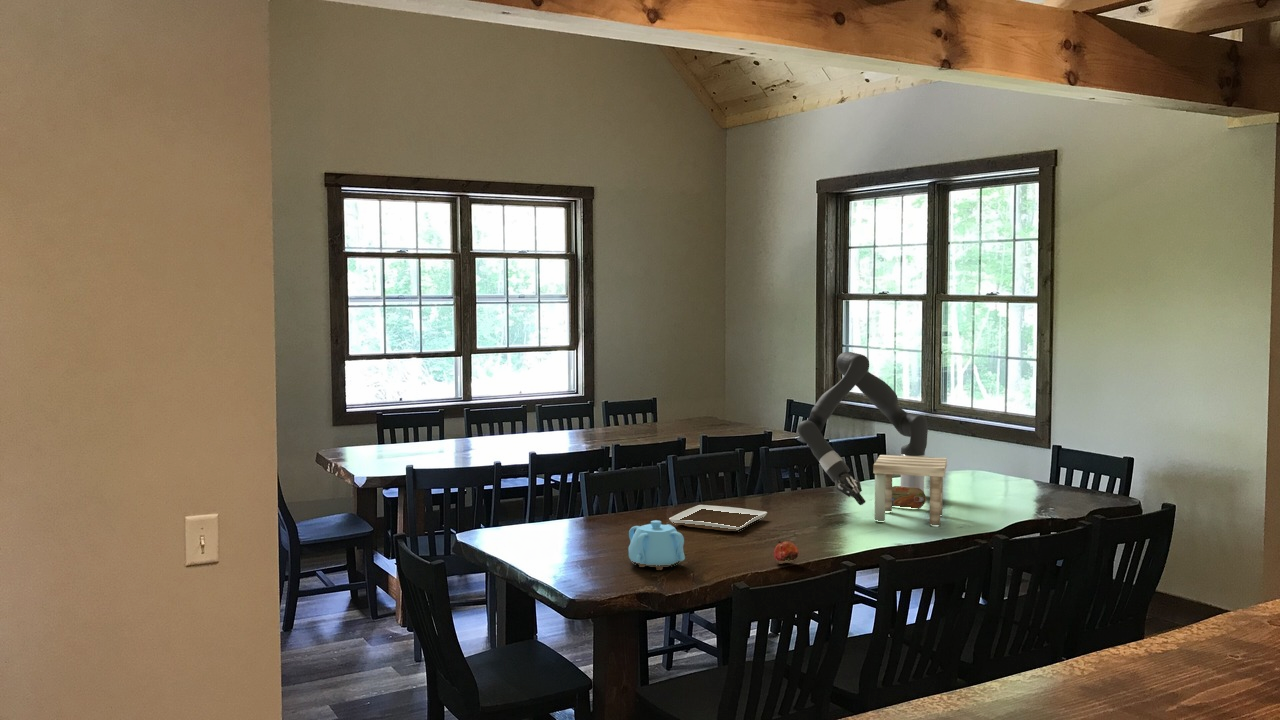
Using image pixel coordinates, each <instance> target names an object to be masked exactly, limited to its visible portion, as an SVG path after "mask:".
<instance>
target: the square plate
mask: <svg viewBox="0 0 1280 720" xmlns="http://www.w3.org/2000/svg"><path fill="white" fill-rule="evenodd" d="M701 509H706V510H713V511H721V512H729V513H739V514H740V513H741V514H750V515H758V516H756V517H754V518H752V519H751V520H749V521H748V522H746V523H745V524H744V525H742V526H740V527H736V526H730V525H724V524H718V523H711V522H704V521H693V520H680V519H682V518H684V517H687V516H689V515H691V514H693V513H695V512H697V511H699V510H701ZM767 514H768V512H767V511H764V510H757V509H756V510H755V509H749V508H742V507H733V506H732V507H731V506H722V505H721V506H720V505H707V504H698V505H696V506H693V507H690V508H688V509H686V510H683V511H681V512H679V513H677V514H675V515H673V516H671V517H669V518H668V520H669V521H670V522H671V523H673V522H674V523H685V524H695V525H705V526H712V527H720V528H728V529H736V530H739V529H741V528H743V527H745V526H746V525H748V524H750V523H752V522H754V521H756V520H758V519H760V518H762V517H763V518H765V516H766V515H767ZM763 518H762V519H763ZM760 520H761V519H760ZM674 523H673V524H674Z"/></svg>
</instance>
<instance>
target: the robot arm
mask: <svg viewBox="0 0 1280 720" xmlns="http://www.w3.org/2000/svg"><path fill="white" fill-rule="evenodd" d="M836 368H837V370H838V372H839V373H840V374H841V375H842V376H843V377H842V378H840V380H839V381H838V382H837V383H836V384H835V385H833V386H832V387H831V388H829V389H828V390H826V391H825V392H824V393H822V395H820V397H819V398H818V400H817V401H816V402H815V404H814V406H812V408H811V411H810V414H809V417H808V418H807V419H805V420H801V422H800V423H799V424H798V427H797V433H798V436H799V438H800V440H801V442H803V443H805V444H807V446H808V448H809V449H810V450H811V453H812V455H813V456H814V457H815V459H816V460H817V461H818V462H819V464H820V466H821V467H822V469H823V470H824V472H825V473H826V474H827V475H828V477H829V478H830V480H831V481H832V482H833V483H836V484H837V485H838V486H837V487H836V489H837V491H839V492H841V493H842V494H843V495H845V496H847V497H848V498H850V497H851V498H853V499H854V500H855V501H856V502H857V504H858V505H859V506H863V505H864V504H865V503H866V499H864V497H863V496H862V494H861V492H862V486H861V481H860V479H858V478H857V479H854V477H853V476H852V475H851V474H850V468H849V466H848V465H847V464H846V462H845V461H844V460H843V459H842V458H841V456H840V455H839V453H837V452H836V451H835V450H834V448H833V447H832V446H831V445H830V443H829V442H828V441H827V440H826V439H825V437H824V435H823V434H822V431H823V429H824V426H825V425H826V422H827V421H828V420H829V418H830V417H831V415H832V414H833V412H834V411H835V410H836V408H837V407H838V405H839V404H840V403H841V402H842V400H843V399H844V398H845V397H846V396H847V395H848V394H849V393H850V392H851V391H852V389H854V387H855V386H856V387H857V389H859V390H860V392H861V393H862V394H863V395H864V396H865V397H866V398H867V399H868V400H869V402H870V403H872V404H873V405H874V407H876V408H877V409H878V410H879V411H880V412H881V413H882V414H883V415H884V416H885V418H887V419H888V420H889V422H890V423H891V425H893V427H894V428H895V429H896V431H897V432H898V433H899V434H900V435H902V436H904V437H908V438H910V439H909V442H908V444H904V445H902V446H901V448H900V456H917V457H926V448H927V445H928V432H929V431H928V430H929V426H928V421H927V418H926V417H925V416H924V415H921V414H915V413H909V412H907V411H905V410H904V409H903V408H902V407H901V406H900V405H899V398H898V395H897V393H896V392H895V391H894V389H893V388H892V387H891V386H890V385H889V384H888V383H886V382H885V381H884V380H882V379H881V378H879V377H878V376H876V375H874V373H871V372H869V369H870V361H869V359H868V357H867V356H866V355H864V354H860V353H857V352H854V351H853V352H851V351H845V352H842V353H840V354H839V355H838V357H837V359H836ZM900 486H903V487H917V488H919V489H921V490H922V491H923V492H924V493H925V476H915V475H900Z"/></svg>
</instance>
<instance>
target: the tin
mask: <svg viewBox="0 0 1280 720" xmlns="http://www.w3.org/2000/svg"><path fill="white" fill-rule="evenodd" d="M926 501H927V497H926V493H925V491H924V492H923V491H922V490H921V489H919V488H917V487H903V486H901V485H895V486H893V485H892V506H900V507H911V508H918V509H917V510H920V509H921V508H922V507H923V506H924V505H925V503H926Z"/></svg>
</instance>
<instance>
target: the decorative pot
mask: <svg viewBox="0 0 1280 720" xmlns="http://www.w3.org/2000/svg"><path fill="white" fill-rule="evenodd" d="M628 537H629V542H630V543H629V545H628V547H627V549H628V558H629V560H630V561H631V562H632V561H633V562H636V563H640V564H646V565H656V566H657V565H659V566H660V565H671V564H674V563H676V562H678V561H680V562H683V561H684V560H685V559H686V556H685V553H684V552H685V551H684V544H685V537H684V536H683V534H682V533H681V532H679V531H677V529H676V527H674V526H673V524H672V525H671V524H662V521H661V520H657V519H655V520H651V521H650V523H648V524H644V525H641V526H640V525H634V526H632V527H631V528H630V529H629V530H628ZM633 562H632V563H633Z"/></svg>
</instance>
